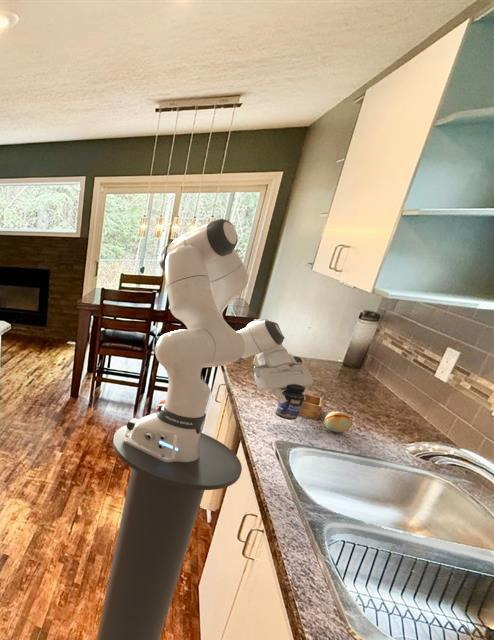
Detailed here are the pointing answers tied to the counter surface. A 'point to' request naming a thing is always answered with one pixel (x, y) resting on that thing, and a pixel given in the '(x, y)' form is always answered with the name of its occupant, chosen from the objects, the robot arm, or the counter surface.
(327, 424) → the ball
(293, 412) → the pill bottle
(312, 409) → the holder
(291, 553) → the counter surface
